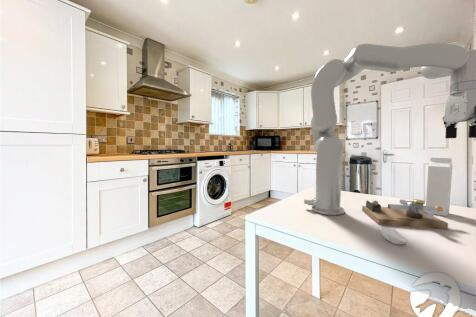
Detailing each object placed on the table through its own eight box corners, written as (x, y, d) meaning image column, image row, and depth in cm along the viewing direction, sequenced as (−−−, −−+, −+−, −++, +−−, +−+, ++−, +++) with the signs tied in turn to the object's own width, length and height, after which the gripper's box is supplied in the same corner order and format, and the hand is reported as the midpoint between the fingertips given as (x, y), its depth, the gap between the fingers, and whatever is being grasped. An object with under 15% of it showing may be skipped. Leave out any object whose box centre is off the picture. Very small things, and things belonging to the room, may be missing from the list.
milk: (446, 216, 78) (450, 158, 76) (425, 212, 83) (428, 157, 81) (449, 213, 81) (453, 157, 79) (428, 209, 86) (432, 157, 84)
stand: (378, 224, 71) (379, 207, 70) (362, 210, 85) (362, 196, 85) (447, 229, 67) (448, 211, 66) (417, 213, 81) (418, 198, 81)
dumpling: (375, 238, 61) (375, 225, 61) (388, 235, 63) (388, 223, 62) (399, 250, 54) (400, 235, 54) (413, 246, 56) (414, 232, 56)
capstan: (400, 223, 66) (401, 206, 66) (378, 208, 82) (379, 193, 81) (460, 227, 63) (462, 209, 62) (425, 210, 78) (426, 195, 78)
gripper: (434, 95, 81) (432, 138, 82) (475, 82, 64) (471, 137, 65) (457, 93, 79) (454, 138, 81) (504, 80, 62) (500, 137, 64)
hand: (462, 137), depth 73 cm, fingers open, 9 cm apart
